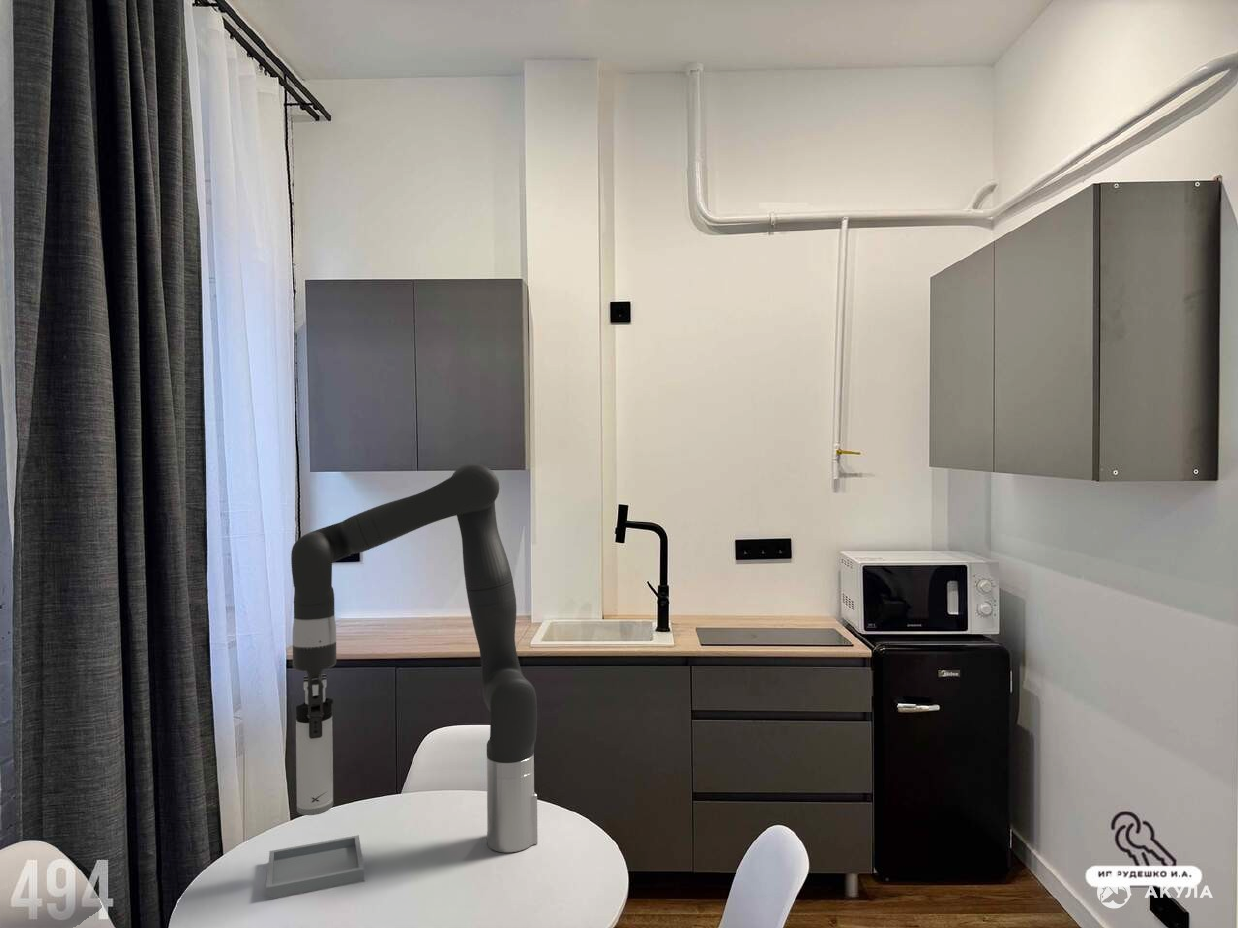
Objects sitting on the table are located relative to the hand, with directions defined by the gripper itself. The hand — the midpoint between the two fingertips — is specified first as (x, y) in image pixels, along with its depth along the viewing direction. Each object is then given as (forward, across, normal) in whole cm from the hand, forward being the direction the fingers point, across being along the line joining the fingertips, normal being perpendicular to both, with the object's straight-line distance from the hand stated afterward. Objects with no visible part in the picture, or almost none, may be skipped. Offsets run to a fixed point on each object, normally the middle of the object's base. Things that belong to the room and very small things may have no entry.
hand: (315, 731), depth 144 cm
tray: (+26, 0, 0) cm, 26 cm away
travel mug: (+14, 0, 0) cm, 14 cm away
